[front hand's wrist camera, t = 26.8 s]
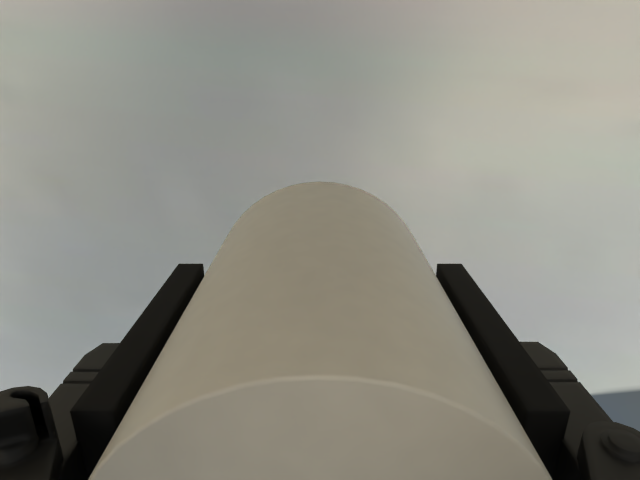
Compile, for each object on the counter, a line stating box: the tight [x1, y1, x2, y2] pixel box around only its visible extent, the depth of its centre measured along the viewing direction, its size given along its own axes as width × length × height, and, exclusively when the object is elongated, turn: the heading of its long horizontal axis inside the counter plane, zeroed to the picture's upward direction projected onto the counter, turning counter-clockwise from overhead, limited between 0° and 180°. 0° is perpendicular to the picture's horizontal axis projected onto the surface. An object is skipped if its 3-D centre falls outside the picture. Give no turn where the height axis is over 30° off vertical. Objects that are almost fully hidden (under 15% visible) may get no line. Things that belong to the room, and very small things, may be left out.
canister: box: [88, 182, 552, 480], centre depth 11 cm, size 7×7×10 cm
